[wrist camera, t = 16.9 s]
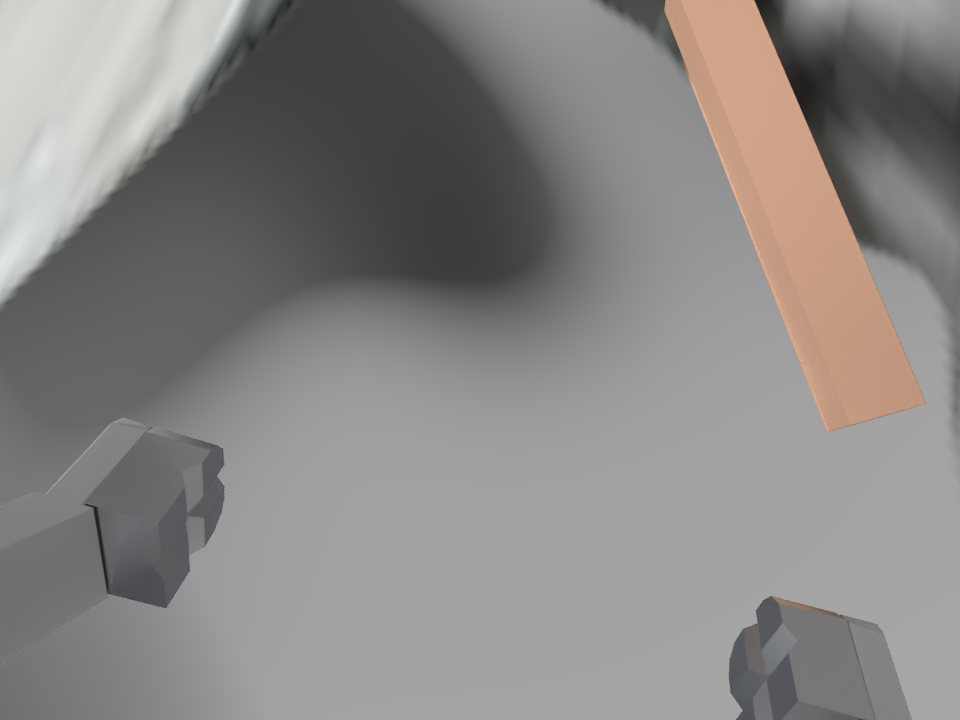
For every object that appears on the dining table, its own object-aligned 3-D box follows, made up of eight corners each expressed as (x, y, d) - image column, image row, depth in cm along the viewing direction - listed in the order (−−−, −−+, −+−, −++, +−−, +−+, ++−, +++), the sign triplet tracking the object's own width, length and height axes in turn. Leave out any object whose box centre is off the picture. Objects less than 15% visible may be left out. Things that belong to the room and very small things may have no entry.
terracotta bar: (896, 412, 32) (926, 403, 29) (827, 432, 32) (850, 425, 29) (722, -6, 37) (732, -50, 34) (663, 14, 37) (669, -27, 34)
